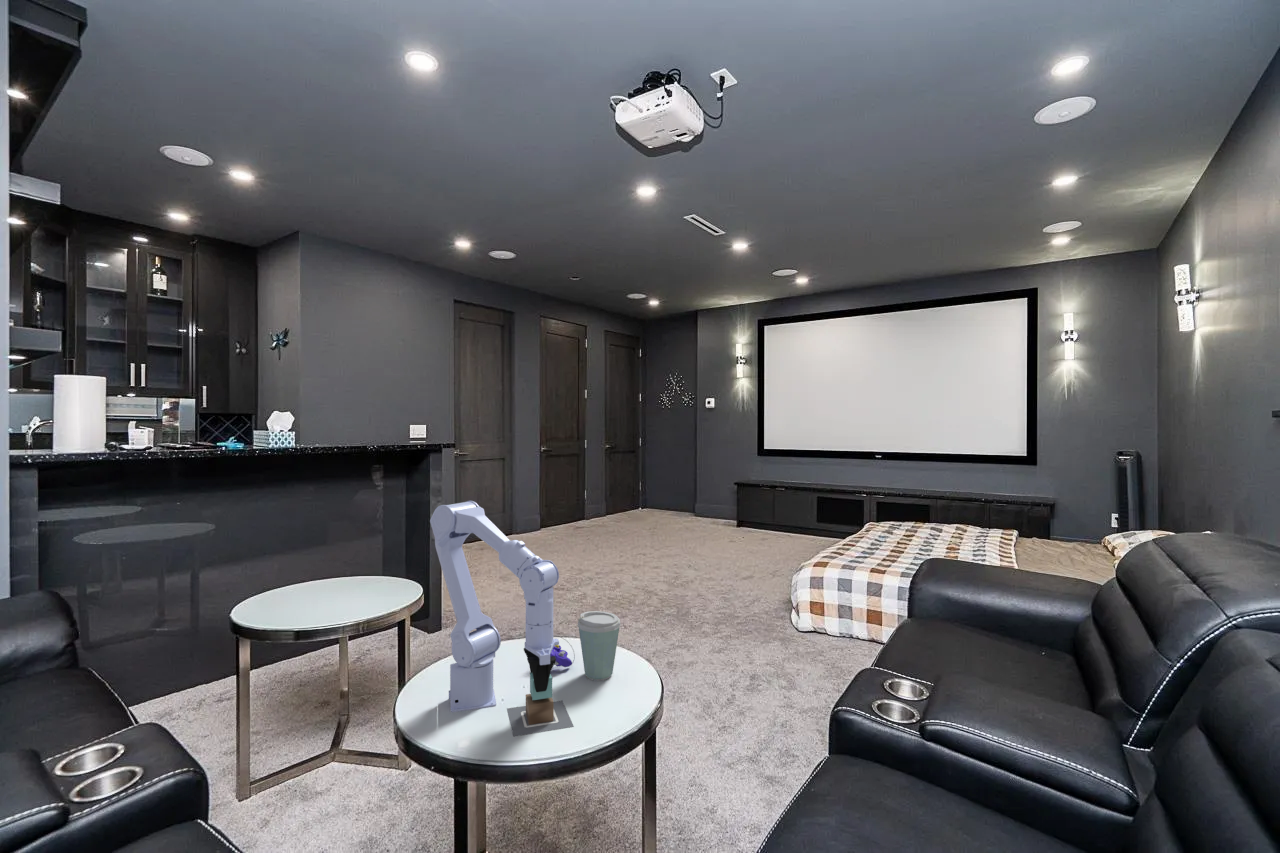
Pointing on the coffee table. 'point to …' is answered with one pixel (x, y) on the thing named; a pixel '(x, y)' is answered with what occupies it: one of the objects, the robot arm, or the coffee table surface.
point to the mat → (523, 727)
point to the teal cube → (542, 694)
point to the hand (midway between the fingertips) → (539, 686)
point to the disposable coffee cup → (598, 643)
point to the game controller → (561, 656)
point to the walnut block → (539, 710)
